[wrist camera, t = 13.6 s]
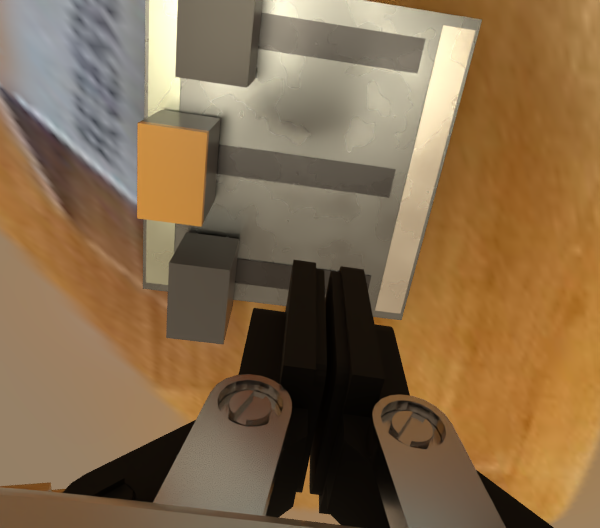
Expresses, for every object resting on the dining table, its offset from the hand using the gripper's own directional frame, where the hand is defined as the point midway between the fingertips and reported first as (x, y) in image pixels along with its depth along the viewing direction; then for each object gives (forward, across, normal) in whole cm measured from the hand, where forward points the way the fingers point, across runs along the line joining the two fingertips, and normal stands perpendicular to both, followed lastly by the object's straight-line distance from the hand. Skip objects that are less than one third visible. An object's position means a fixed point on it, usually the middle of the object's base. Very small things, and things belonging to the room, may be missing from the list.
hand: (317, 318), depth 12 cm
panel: (+18, +1, +1) cm, 18 cm away
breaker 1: (+16, +5, -5) cm, 18 cm away
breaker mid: (+16, +7, +1) cm, 17 cm away
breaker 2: (+16, +5, +8) cm, 18 cm away
